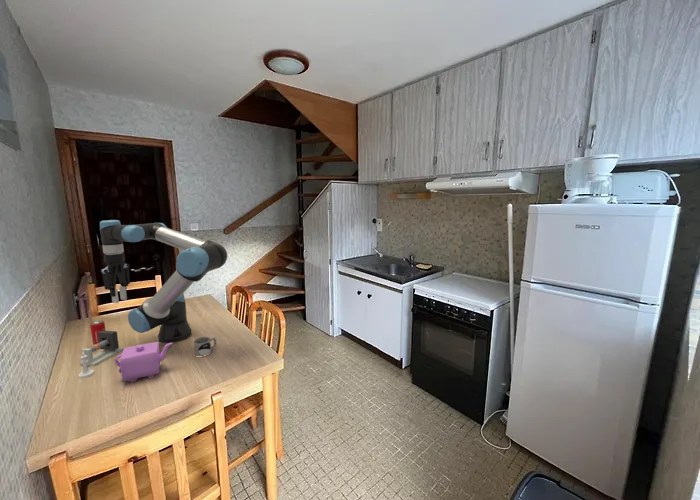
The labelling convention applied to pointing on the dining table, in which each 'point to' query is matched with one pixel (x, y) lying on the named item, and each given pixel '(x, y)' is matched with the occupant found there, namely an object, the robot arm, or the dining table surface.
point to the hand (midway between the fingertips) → (119, 300)
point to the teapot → (140, 361)
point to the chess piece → (85, 368)
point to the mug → (203, 346)
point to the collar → (113, 339)
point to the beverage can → (96, 330)
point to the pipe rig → (101, 355)
